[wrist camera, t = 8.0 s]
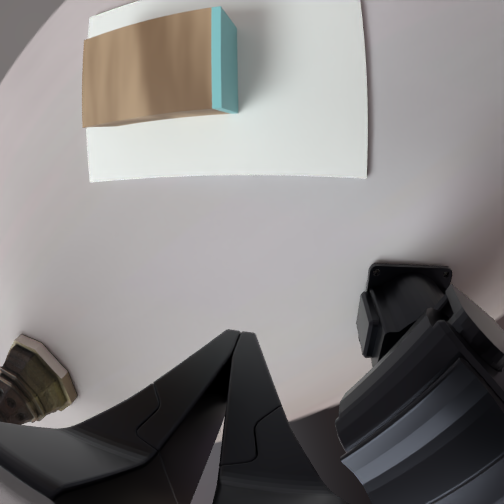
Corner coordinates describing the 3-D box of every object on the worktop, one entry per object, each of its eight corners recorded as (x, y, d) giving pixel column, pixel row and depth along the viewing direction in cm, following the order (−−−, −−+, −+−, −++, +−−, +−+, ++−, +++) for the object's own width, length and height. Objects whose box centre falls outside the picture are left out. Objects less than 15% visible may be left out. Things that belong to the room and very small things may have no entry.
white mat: (356, -17, 14) (357, -20, 14) (365, 177, 19) (366, 178, 19) (93, 19, 17) (89, 17, 17) (93, 181, 22) (89, 182, 22)
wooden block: (220, 6, 13) (84, 40, 14) (221, 107, 15) (82, 127, 16) (237, 28, 16) (116, 50, 18) (238, 113, 18) (116, 126, 20)
